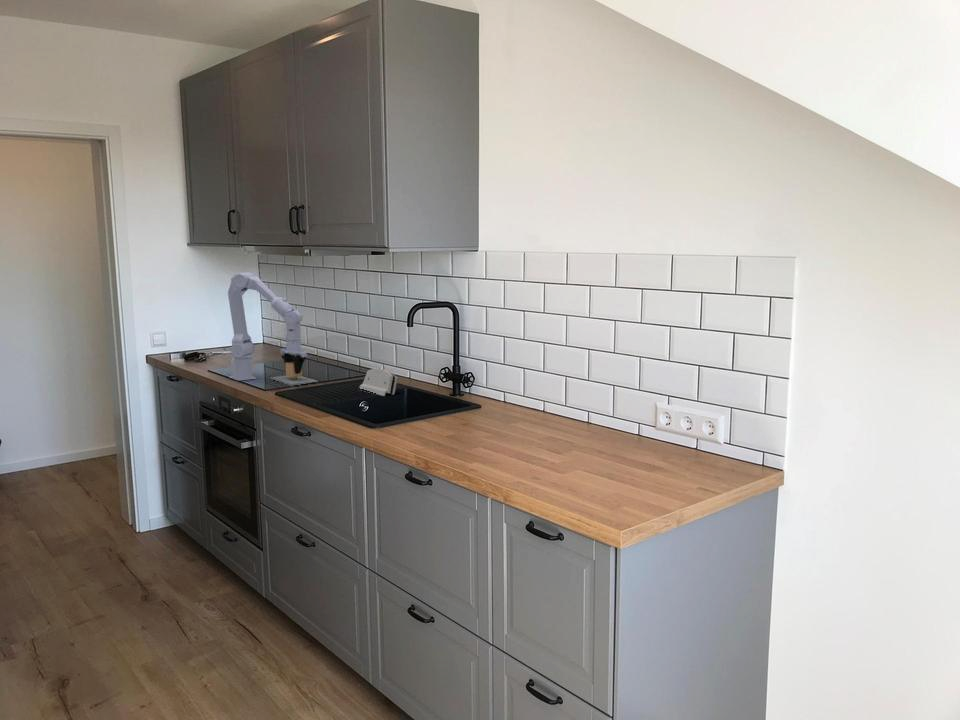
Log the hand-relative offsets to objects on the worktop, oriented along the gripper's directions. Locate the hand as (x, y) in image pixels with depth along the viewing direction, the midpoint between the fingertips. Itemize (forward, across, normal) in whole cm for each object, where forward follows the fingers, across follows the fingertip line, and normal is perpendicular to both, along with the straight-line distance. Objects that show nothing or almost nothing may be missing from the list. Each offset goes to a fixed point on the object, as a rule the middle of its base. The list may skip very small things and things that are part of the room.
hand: (293, 372), depth 326 cm
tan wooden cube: (+1, 0, 0) cm, 1 cm away
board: (+4, 0, 0) cm, 4 cm away
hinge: (+4, +39, +10) cm, 41 cm away
